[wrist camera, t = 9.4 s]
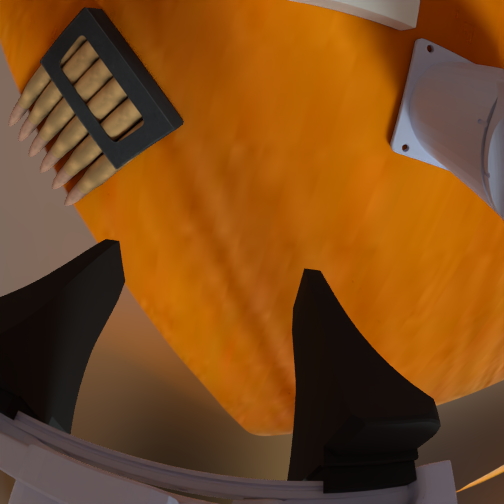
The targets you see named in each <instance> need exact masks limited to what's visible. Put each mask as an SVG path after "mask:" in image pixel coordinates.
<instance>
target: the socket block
mask: <svg viewBox="0 0 504 504" xmlns="http://www.w3.org/2000/svg"><path fill="white" fill-rule="evenodd" d="M290 1H295V2H301V3H306V4H311V5H315V6H320V7H324V8H328V9H333V10H337V11H340V12H344V13H348V14H351V15H355V16H358V17H362V18H365V19H368V20H371V21H374V22H377V23H380V24H383V25H386V26H389V27H392V28H394V29H397V30H400V31H401V30H407V29H412V28H416V24H417V18H418V12H419V5H420V0H290Z"/></svg>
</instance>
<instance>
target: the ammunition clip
mask: <svg viewBox="0 0 504 504" xmlns="http://www.w3.org/2000/svg"><path fill="white" fill-rule="evenodd" d="M40 63H41V65H40V67H39V68H38V69H37V71H36V72H35V74H34V75H33V76H32V78H31V79H30V80H29V82H28V83H27V85H26V87H25V89H24V91H23V93H22V95H21V97H20V99H19V100H18V102H17V104H16V105H15V107H14V109H13V111H12V113H11V116H10V119H9V126H12V125H14V124H15V123H16V122H17V121H19V119H21V117H22V116H23V115H24V114H25V113H26V111H27V110H28V108H30V106H31V105H32V104H33V103H34V101H35V100H37V101H36V103H35V105H34V107H33V109H32V111H31V112H30V114H29V116H28V117H27V119H26V120H25V122H24V124H23V126H22V128H21V130H20V133H19V138H18V141H19V142H20V141H22V140H24V139H25V138H27V137H28V136H29V135H30V134H31V133H32V132H33V131H34V130H35V129H36V127H37V126H38V125H39V124H40V123H41V122H42V120H43V119H44V118H45V117H46V116H47V115H48V114H50V115H49V116H48V118H47V120H46V122H45V124H44V125H43V127H42V128H41V130H40V132H39V133H38V134H37V136H36V137H35V139H34V141H33V143H32V145H31V147H30V150H29V157H32V156H34V155H35V154H37V153H38V152H39V151H41V150H42V149H43V148H44V147H45V146H46V145H47V144H48V142H49V141H50V140H51V139H52V138H53V137H54V136H55V135H56V134H57V133H58V132H60V131H61V130H62V129H63V128H64V127H65V126H66V125H67V124H68V123H69V122H70V123H69V124H68V125H67V126H66V127H65V128H64V129H63V131H62V132H61V133H60V135H59V137H58V139H57V140H56V142H55V143H54V144H53V146H52V148H51V149H50V150H49V151H48V153H47V154H46V156H45V158H44V159H43V162H42V164H41V167H40V172H41V173H42V172H45V171H47V170H49V169H50V168H51V167H53V166H54V165H55V164H56V163H57V162H58V161H59V160H60V159H61V158H62V157H63V156H64V155H65V154H66V153H67V152H68V151H70V150H71V149H73V148H74V147H75V146H76V145H77V144H78V143H79V142H80V141H81V140H82V139H83V138H84V137H85V136H86V135H87V134H88V133H89V135H88V136H87V138H86V139H85V140H84V141H83V142H82V143H81V144H80V145H79V146H78V147H77V148H76V149H75V150H74V151H73V153H72V155H71V156H70V158H69V159H68V161H67V162H66V163H65V164H64V166H63V167H62V168H61V169H60V171H59V172H58V174H57V175H56V177H55V179H54V181H53V184H52V189H56V188H59V187H61V186H62V185H64V184H65V183H67V182H68V181H69V180H70V179H71V178H72V177H73V176H74V175H76V174H77V173H78V172H79V171H80V170H82V169H84V168H85V167H87V166H88V165H89V164H90V163H91V162H92V161H94V160H95V159H96V158H97V157H98V156H99V155H100V154H101V153H102V152H103V153H104V154H103V155H102V156H101V157H100V158H99V159H98V160H96V161H95V162H94V163H93V164H92V165H91V166H90V167H89V168H88V170H87V171H86V172H85V174H84V176H83V177H82V178H81V179H80V180H79V181H78V183H77V184H76V185H75V186H74V187H73V188H72V189H71V191H70V192H69V194H68V195H67V197H66V200H65V205H66V206H68V205H71V204H74V203H75V202H77V201H79V200H80V199H82V198H83V197H84V196H85V195H86V194H88V193H89V192H91V191H92V190H93V189H94V188H96V187H98V186H100V185H102V184H103V183H104V182H105V181H107V180H108V179H109V178H110V177H111V176H113V175H114V174H115V173H116V172H117V171H119V170H120V169H121V168H122V167H124V166H125V165H126V164H127V163H129V162H130V161H131V160H132V159H134V158H135V157H136V156H138V155H139V154H140V153H142V152H143V151H144V150H145V149H147V148H148V147H150V146H151V145H153V144H154V143H156V142H157V141H159V140H160V139H162V138H163V137H165V136H167V135H168V134H170V133H171V132H173V131H174V130H176V129H177V128H179V127H180V126H181V125H183V120H182V119H181V117H180V116H179V114H178V113H177V112H176V110H175V109H174V107H173V106H172V105H171V103H170V102H169V100H168V99H167V98H166V96H165V95H164V94H163V92H162V91H161V89H160V88H159V87H158V85H157V84H156V82H155V81H154V80H153V78H152V77H151V75H150V74H149V73H148V71H147V70H146V69H145V67H144V66H143V64H142V63H141V62H140V60H139V59H138V58H137V56H136V55H135V54H134V52H133V51H132V49H131V48H130V47H129V45H128V44H127V43H126V41H125V40H124V39H123V37H122V36H121V34H120V33H119V32H118V30H117V29H116V28H115V26H114V25H113V24H112V22H111V21H110V20H109V18H108V17H107V16H106V14H105V13H104V12H103V10H102V9H96V8H85V7H84V8H83V9H82V10H81V11H80V12H79V14H78V15H77V16H76V17H75V18H74V19H73V20H72V21H71V23H70V24H69V25H68V26H67V27H66V29H65V30H64V31H63V32H62V33H61V35H60V36H59V37H58V38H57V40H56V41H55V42H54V43H53V45H52V46H51V47H50V49H49V50H48V51H47V53H46V54H45V55H44V57H43V58H42V60H41V61H40ZM127 97H128V99H127V100H125V99H126V98H127ZM124 100H125V101H124ZM122 101H124V102H123V103H122V104H121V105H120V106H119V107H118V108H117V109H115V108H116V107H117V106H118V105H119V104H120V103H121V102H122ZM113 109H115V110H114V111H113V112H112V113H111V114H110V112H111V111H112V110H113ZM75 115H76V116H75ZM74 116H75V117H74ZM73 117H74V118H73ZM72 118H73V119H72ZM142 118H143V120H142V121H141V122H140V123H138V124H137V125H136V126H135V127H134V128H132V129H131V130H130V131H129V132H128V133H127V134H126V133H125V132H126V131H128V130H129V129H130V128H131V127H132V126H134V125H135V124H136V123H137V122H139V121H140V120H141V119H142Z"/></svg>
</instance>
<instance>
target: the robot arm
mask: <svg viewBox="0 0 504 504" xmlns="http://www.w3.org/2000/svg"><path fill="white" fill-rule="evenodd" d="M428 45H429V46H430V47H431V52H429V51H428V50H427V46H428ZM404 144H407V148H406V150H402V146H403V145H404ZM390 146H391V149H392V150H393V151H394V152H396V153H399V154H402V155H405V156H408V157H411V158H414V159H417V160H420V161H423V162H426V163H429V164H432V165H435V166H438V167H441V168H443V169H446V170H449V171H451V172H452V173H453V174H454V175H455V176H457V177H458V178H459V179H460V180H461V181H462V182H464V183H465V184H466V185H467V186H468V187H469V188H470V189H472V190H473V191H474V192H475V193H476V194H477V195H478V196H479V197H480V198H482V199H483V200H484V201H485V202H486V203H487V204H488V205H489V206H490V207H491V208H492V209H493V210H494V211H495V212H496V213H497V214H498V215H499V216H500V217H501V218H502V219H503V221H504V69H502V68H497V67H491V66H485V65H479V64H474V63H472V62H471V61H469V60H467V59H465V58H463V57H461V56H459V55H457V54H456V53H454V52H452V51H450V50H448V49H445V48H443V47H441V46H439V45H437V44H435V43H433V42H430V41H428V40H426V39H423V38H420V39H417V40H416V41H415V43H414V49H413V54H412V58H411V63H410V68H409V72H408V77H407V81H406V85H405V89H404V94H403V98H402V102H401V106H400V109H399V113H398V117H397V121H396V124H395V128H394V132H393V135H392V139H391V142H390ZM124 283H125V277H124V271H123V264H122V258H121V250H120V243H119V241H115V240H109V239H105V240H103V241H102V242H100V243H98V244H96V245H95V246H93V247H92V248H90V249H88V250H87V251H85V252H84V253H82V254H80V255H79V256H77V257H76V258H74V259H73V260H71V261H69V262H68V263H66V264H65V265H63V266H61V267H60V268H58V269H56V270H55V271H53V272H51V273H50V274H48V275H47V276H45V277H43V278H41V279H39V280H37V281H35V282H33V283H31V284H29V285H27V286H25V287H23V288H21V289H18V290H16V291H14V292H11V293H9V294H7V295H4V296H2V297H0V470H2V471H4V472H5V473H7V474H8V475H10V476H11V477H13V478H15V479H16V481H15V484H14V487H13V490H12V493H11V496H10V500H9V503H8V504H217V503H212V502H207V501H202V500H198V499H194V498H189V497H185V496H181V495H177V494H173V493H169V492H166V491H163V490H160V489H158V488H155V487H153V486H149V485H147V484H143V483H140V482H137V481H141V482H145V483H148V484H152V485H156V486H160V487H164V488H168V489H173V490H178V491H183V492H188V493H193V494H199V495H204V496H211V497H218V498H225V499H233V500H234V501H232V504H457V497H456V490H455V484H454V478H453V472H452V467H451V461H449V460H445V461H441V462H436V463H431V464H426V465H422V466H419V467H417V468H415V463H414V460H416V459H418V451H417V448H418V447H420V446H421V445H423V444H424V443H425V442H426V441H428V440H429V439H430V438H432V437H433V436H434V435H435V434H436V433H437V431H438V430H439V428H440V420H439V416H438V412H437V408H436V405H435V402H434V399H433V398H431V397H430V396H428V395H427V394H426V393H424V392H423V391H421V390H420V389H419V388H417V387H416V386H414V385H413V384H412V383H410V382H409V381H408V380H407V379H405V378H404V377H403V376H402V375H401V374H399V373H398V372H397V371H396V370H395V369H394V368H393V367H392V366H390V365H389V364H388V363H387V362H386V361H385V360H384V359H383V358H382V357H381V356H380V355H379V354H378V353H377V352H376V350H375V349H374V348H373V347H372V346H371V345H370V344H369V343H368V341H367V340H366V339H365V338H364V337H363V336H362V334H361V333H360V332H359V331H358V329H357V328H356V327H355V325H354V324H353V322H352V321H351V320H350V318H349V317H348V315H347V314H346V312H345V311H344V309H343V308H342V306H341V305H340V303H339V301H338V300H337V298H336V297H335V295H334V293H333V291H332V290H331V288H330V286H329V285H328V283H327V281H326V279H325V278H324V276H323V274H322V273H321V271H319V270H312V269H305V268H304V272H303V275H302V279H301V282H300V286H299V290H298V293H297V297H296V300H295V304H294V307H293V323H292V336H293V350H294V363H295V377H296V397H295V414H294V428H293V438H292V448H291V457H290V465H289V472H288V479H287V481H280V480H265V479H253V478H243V477H234V476H226V475H219V474H212V473H206V472H200V471H194V470H189V469H184V468H179V467H174V466H170V465H165V464H161V463H157V462H153V461H149V460H145V459H141V458H138V457H134V456H130V455H127V454H124V453H121V452H118V451H114V450H111V449H108V448H105V447H102V446H99V445H96V444H94V443H91V442H88V441H86V440H83V439H80V438H78V437H75V436H73V435H70V434H71V426H72V420H73V415H74V409H75V405H76V400H77V396H78V392H79V388H80V385H81V382H82V378H83V375H84V372H85V368H86V366H87V363H88V360H89V357H90V354H91V352H92V349H93V347H94V345H95V343H96V341H97V339H98V337H99V335H100V333H101V331H102V330H103V328H104V326H105V324H106V322H107V320H108V318H109V316H110V315H111V313H112V311H113V309H114V307H115V305H116V303H117V301H118V299H119V296H120V294H121V291H122V288H123V286H124ZM59 452H60V453H59ZM61 453H62V454H61ZM63 454H64V455H63ZM65 455H66V456H65ZM67 456H69V457H71V458H69V457H67ZM72 458H74V459H76V460H74V459H72ZM77 460H78V461H77ZM79 461H81V462H79ZM82 462H84V463H86V464H84V463H82ZM87 464H89V465H91V466H89V465H87ZM92 466H94V467H92ZM95 467H97V468H100V469H102V470H100V469H97V468H95ZM103 470H105V471H103ZM106 471H108V472H106ZM109 472H111V473H109ZM112 473H114V474H112ZM115 474H118V475H120V476H118V475H115ZM121 476H124V477H127V478H124V477H121ZM128 478H130V479H128ZM131 479H134V480H137V481H134V480H131Z"/></svg>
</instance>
